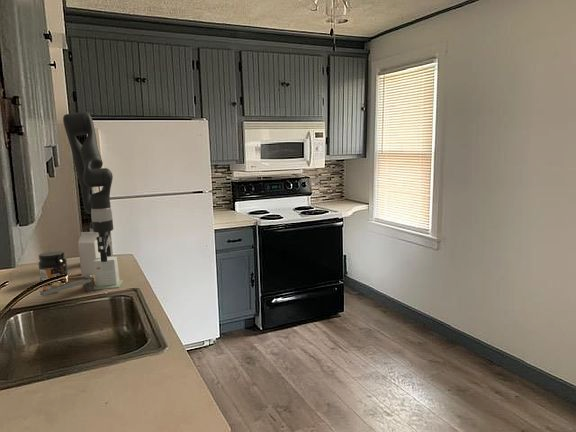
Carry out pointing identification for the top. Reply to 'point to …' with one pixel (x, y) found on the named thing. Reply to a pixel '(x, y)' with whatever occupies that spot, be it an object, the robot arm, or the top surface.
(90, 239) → the milk carton
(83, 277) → the cradle
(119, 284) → the pad
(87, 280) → the lever
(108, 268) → the small box
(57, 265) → the supplement container
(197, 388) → the top surface
